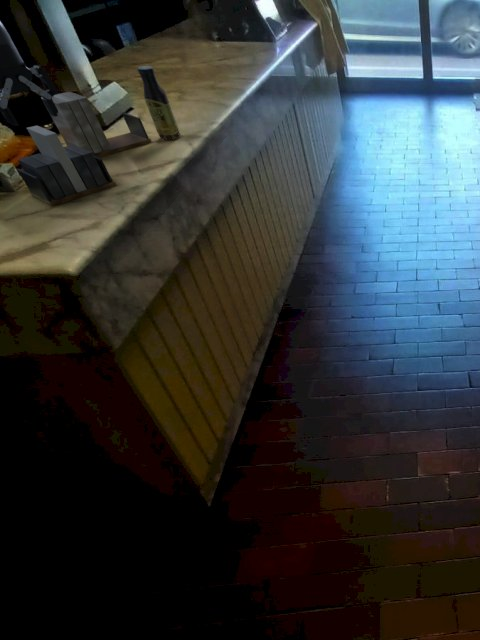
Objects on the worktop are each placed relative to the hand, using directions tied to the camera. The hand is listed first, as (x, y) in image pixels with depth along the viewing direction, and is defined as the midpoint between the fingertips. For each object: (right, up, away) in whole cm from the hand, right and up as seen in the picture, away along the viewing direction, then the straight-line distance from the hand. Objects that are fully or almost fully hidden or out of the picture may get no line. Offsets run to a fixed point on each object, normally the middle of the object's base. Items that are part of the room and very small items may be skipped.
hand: (35, 120), depth 123 cm
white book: (-1, -12, +11) cm, 16 cm away
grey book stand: (-9, +9, +34) cm, 36 cm away
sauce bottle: (+5, +16, +42) cm, 45 cm away
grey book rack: (-1, -12, +12) cm, 17 cm away
